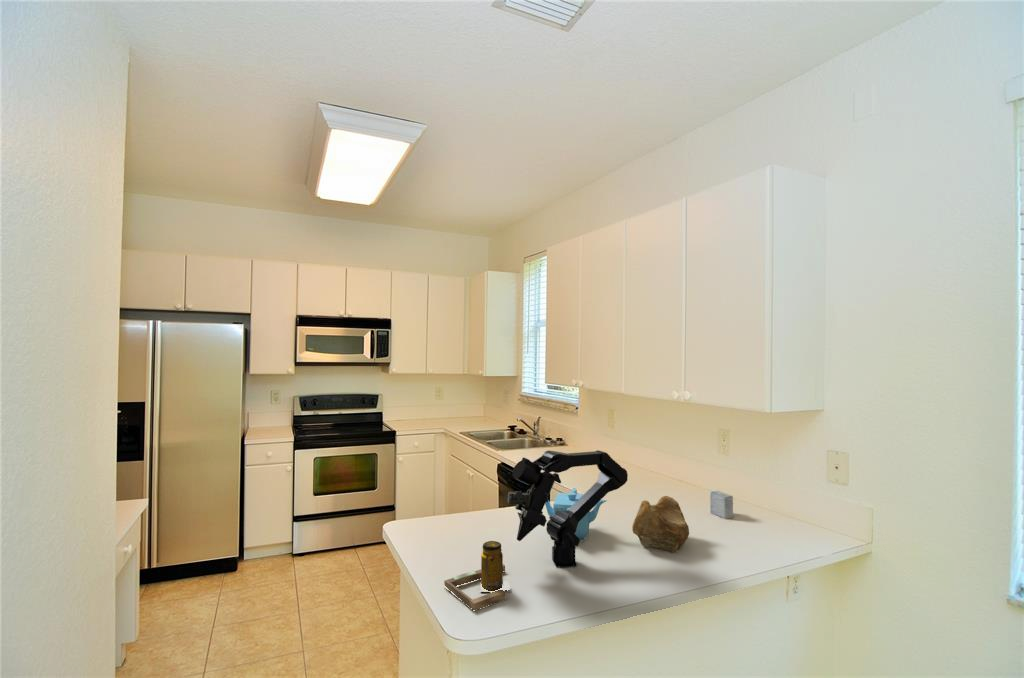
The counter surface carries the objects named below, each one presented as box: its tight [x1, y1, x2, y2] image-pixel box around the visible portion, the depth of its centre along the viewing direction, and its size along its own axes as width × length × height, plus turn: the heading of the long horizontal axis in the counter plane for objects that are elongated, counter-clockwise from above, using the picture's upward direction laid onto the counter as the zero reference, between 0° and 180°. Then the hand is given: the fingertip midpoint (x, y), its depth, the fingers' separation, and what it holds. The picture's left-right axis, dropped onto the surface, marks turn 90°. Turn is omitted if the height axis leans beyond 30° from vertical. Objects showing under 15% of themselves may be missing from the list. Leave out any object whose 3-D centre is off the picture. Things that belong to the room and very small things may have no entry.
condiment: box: [480, 540, 512, 593], centre depth 142 cm, size 7×8×12 cm
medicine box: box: [709, 490, 734, 520], centre depth 202 cm, size 8×4×9 cm, turn 22°
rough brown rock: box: [631, 495, 690, 554], centre depth 171 cm, size 23×17×15 cm
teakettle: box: [544, 487, 608, 541], centre depth 182 cm, size 19×19×15 cm
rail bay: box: [444, 563, 506, 611], centre depth 141 cm, size 19×16×2 cm
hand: (518, 540), depth 150 cm, fingers closed
